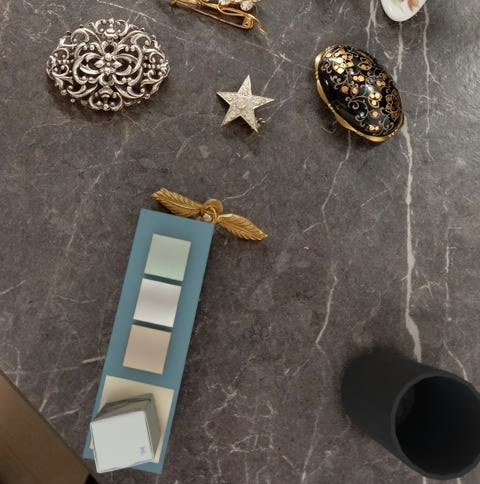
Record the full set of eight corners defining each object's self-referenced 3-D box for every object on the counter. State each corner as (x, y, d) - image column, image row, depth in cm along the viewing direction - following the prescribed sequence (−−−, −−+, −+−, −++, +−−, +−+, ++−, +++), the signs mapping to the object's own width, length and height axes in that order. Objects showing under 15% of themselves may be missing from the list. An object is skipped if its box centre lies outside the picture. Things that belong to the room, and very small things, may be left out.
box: (153, 391, 91) (148, 407, 78) (161, 437, 90) (158, 460, 77) (101, 403, 90) (88, 421, 78) (109, 449, 89) (96, 475, 77)
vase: (384, 450, 117) (450, 503, 88) (324, 397, 118) (369, 432, 89) (431, 386, 120) (511, 417, 91) (372, 334, 121) (431, 349, 92)
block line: (158, 462, 89) (157, 470, 85) (89, 447, 89) (85, 455, 85) (205, 246, 95) (206, 244, 91) (140, 232, 95) (138, 230, 91)
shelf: (166, 431, 116) (161, 474, 89) (105, 418, 116) (82, 457, 89) (208, 238, 123) (214, 224, 95) (150, 226, 123) (141, 207, 95)
